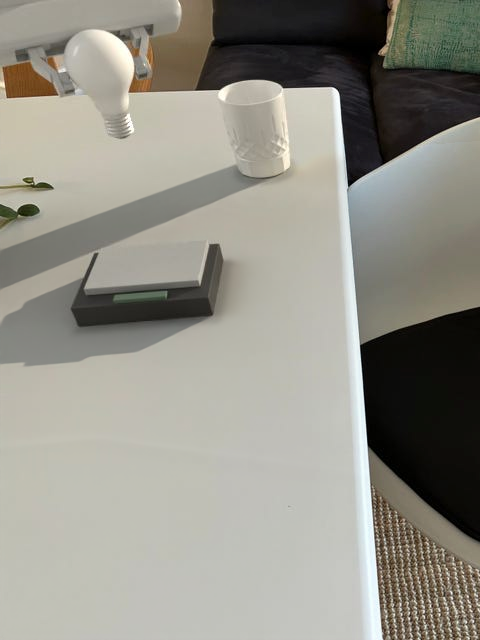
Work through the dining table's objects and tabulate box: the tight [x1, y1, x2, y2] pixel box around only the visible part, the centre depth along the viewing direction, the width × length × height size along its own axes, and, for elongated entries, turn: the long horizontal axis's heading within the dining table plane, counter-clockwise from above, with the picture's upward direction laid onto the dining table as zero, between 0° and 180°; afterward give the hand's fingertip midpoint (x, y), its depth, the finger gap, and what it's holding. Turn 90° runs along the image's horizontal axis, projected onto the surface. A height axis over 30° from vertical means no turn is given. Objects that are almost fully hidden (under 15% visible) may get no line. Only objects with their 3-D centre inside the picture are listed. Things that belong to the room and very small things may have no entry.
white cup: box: [216, 79, 291, 179], centre depth 99 cm, size 8×8×10 cm
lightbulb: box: [63, 29, 135, 140], centre depth 79 cm, size 6×6×11 cm
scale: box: [70, 239, 224, 327], centre depth 80 cm, size 13×10×3 cm
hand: (106, 85), depth 79 cm, fingers closed on lightbulb, 6 cm apart
